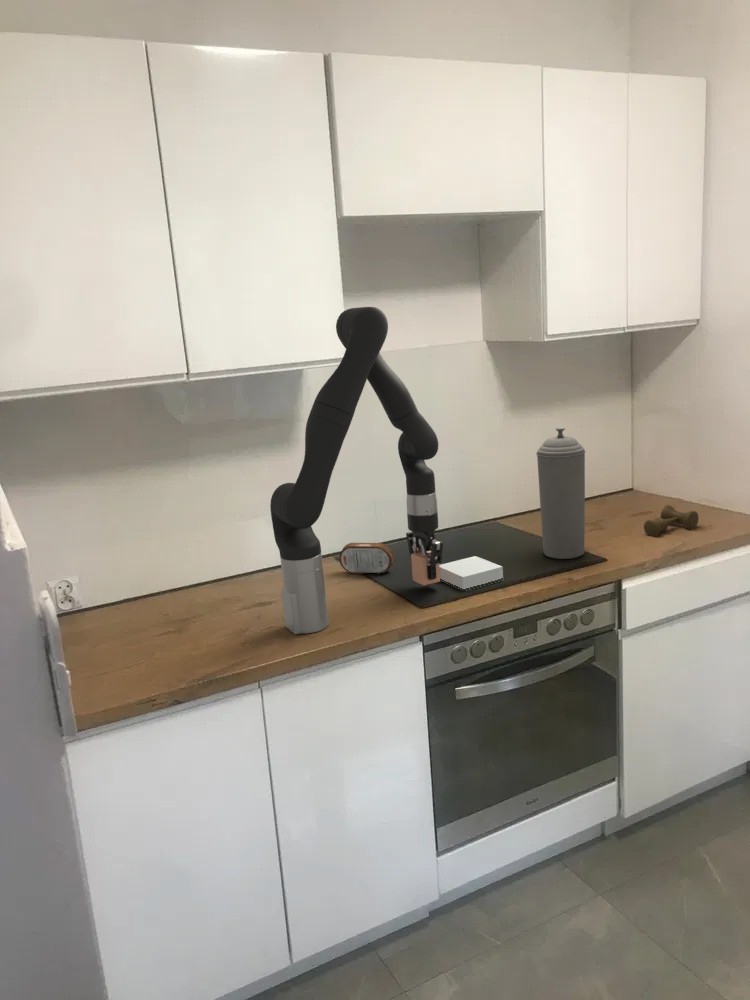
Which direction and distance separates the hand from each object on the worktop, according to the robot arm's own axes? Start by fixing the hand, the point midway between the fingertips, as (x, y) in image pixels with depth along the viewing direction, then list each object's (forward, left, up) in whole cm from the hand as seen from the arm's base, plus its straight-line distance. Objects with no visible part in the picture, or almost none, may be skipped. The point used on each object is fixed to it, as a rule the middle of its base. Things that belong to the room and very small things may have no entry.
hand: (426, 576), depth 196 cm
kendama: (+82, -4, -4) cm, 82 cm away
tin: (-6, +22, -4) cm, 23 cm away
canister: (+43, -1, -4) cm, 44 cm away
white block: (+12, -1, -4) cm, 13 cm away
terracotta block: (0, 0, -1) cm, 1 cm away
